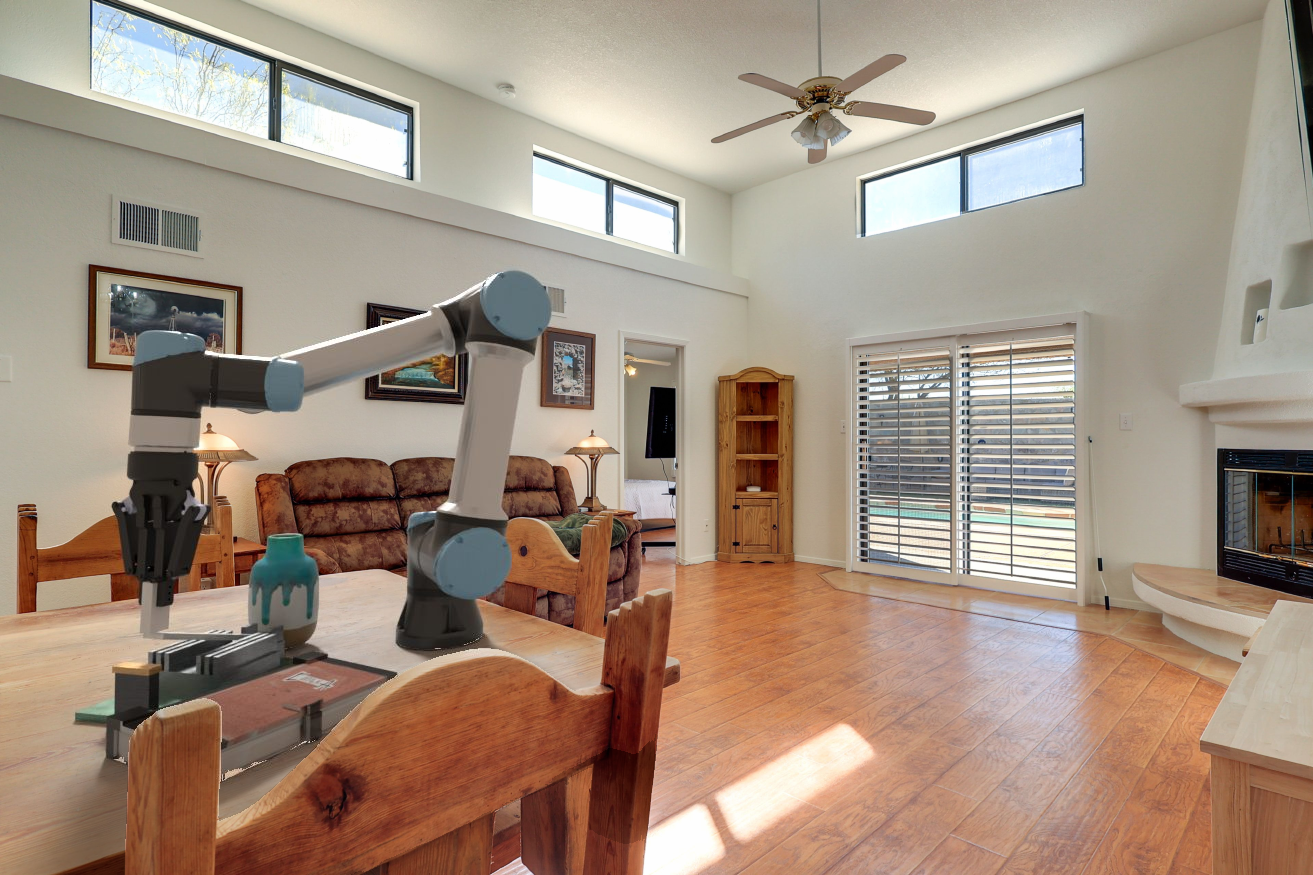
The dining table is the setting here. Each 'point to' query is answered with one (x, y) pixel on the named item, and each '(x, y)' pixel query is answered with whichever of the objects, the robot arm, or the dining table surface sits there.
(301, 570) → the vase
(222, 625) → the dining table surface
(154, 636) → the strap
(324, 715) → the brown labeled slab
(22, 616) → the dining table surface
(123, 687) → the heatsink
